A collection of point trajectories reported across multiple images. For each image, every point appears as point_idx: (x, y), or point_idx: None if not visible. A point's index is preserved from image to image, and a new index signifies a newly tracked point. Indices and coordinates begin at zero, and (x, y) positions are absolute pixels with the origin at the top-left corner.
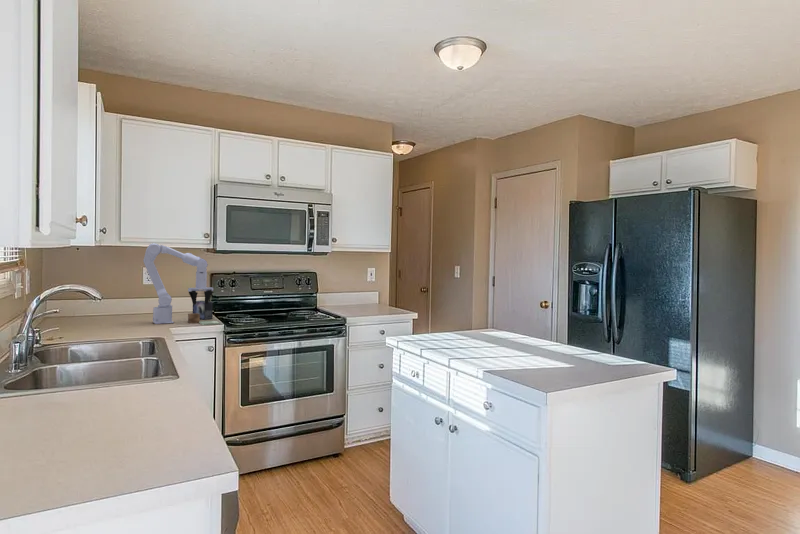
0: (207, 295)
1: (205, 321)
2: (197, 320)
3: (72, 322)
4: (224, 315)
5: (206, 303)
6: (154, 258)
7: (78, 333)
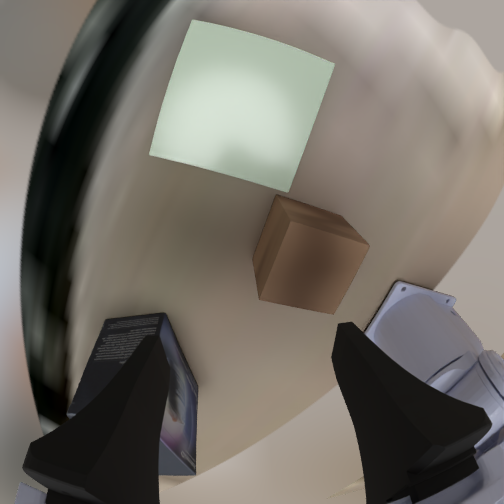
0: (131, 443)
1: (242, 162)
2: (295, 205)
3: None
4: (34, 378)
5: (162, 348)
6: None
7: None
